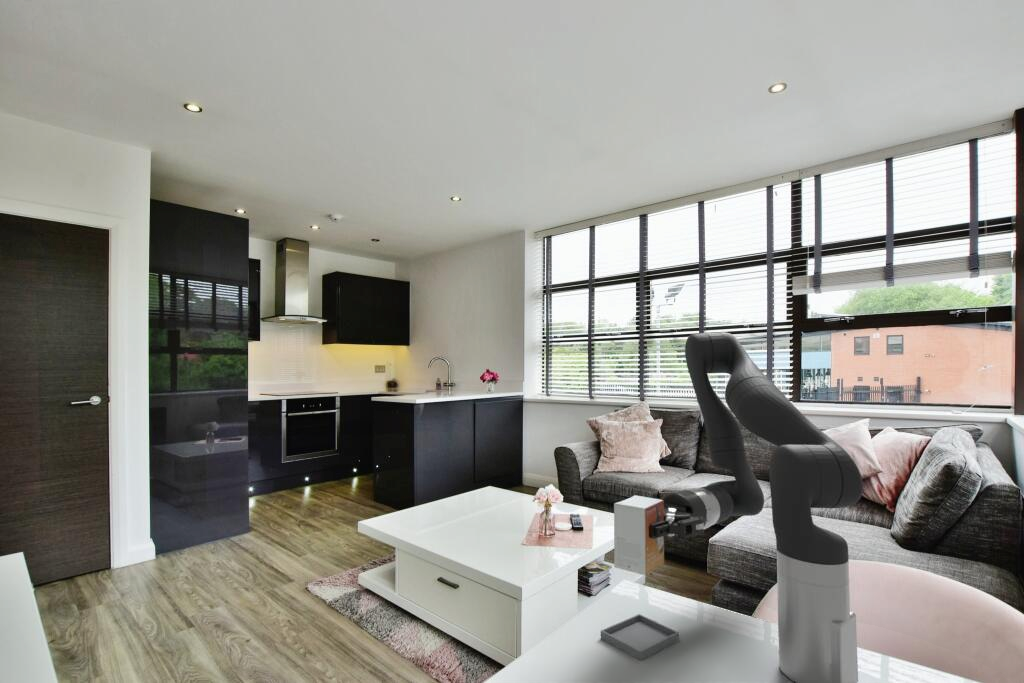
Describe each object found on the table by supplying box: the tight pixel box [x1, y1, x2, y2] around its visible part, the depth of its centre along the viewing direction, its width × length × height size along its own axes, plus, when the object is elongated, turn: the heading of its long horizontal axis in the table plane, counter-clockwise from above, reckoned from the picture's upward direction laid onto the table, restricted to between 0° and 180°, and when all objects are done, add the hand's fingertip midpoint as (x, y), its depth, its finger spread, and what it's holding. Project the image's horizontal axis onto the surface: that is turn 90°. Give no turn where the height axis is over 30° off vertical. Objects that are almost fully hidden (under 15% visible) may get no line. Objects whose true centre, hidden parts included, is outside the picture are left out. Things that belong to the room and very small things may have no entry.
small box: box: [613, 494, 665, 576], centre depth 84 cm, size 8×6×10 cm
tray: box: [600, 613, 680, 661], centre depth 83 cm, size 8×10×1 cm
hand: (632, 526), depth 83 cm, fingers closed on small box, 6 cm apart
